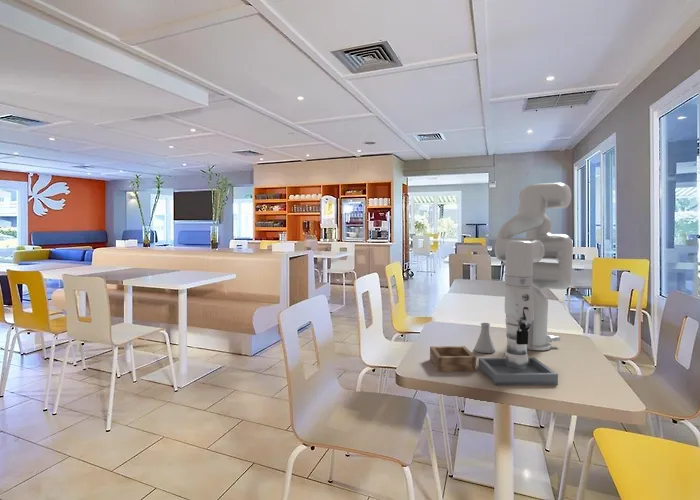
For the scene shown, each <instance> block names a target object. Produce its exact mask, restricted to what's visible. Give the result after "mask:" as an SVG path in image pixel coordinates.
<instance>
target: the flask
mask: <svg viewBox="0 0 700 500" xmlns="http://www.w3.org/2000/svg"><path fill="white" fill-rule="evenodd" d="M480 326H481V327H480V328H481V329H480V333H479V337H478V338H477V342H476V343H475V346H474V350H475V352H477V353H482V354H493V353H495V352H496V349H495V346H494V343H493V340H492V336H491V334H490V326H491V323H489V322H480Z"/></svg>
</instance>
